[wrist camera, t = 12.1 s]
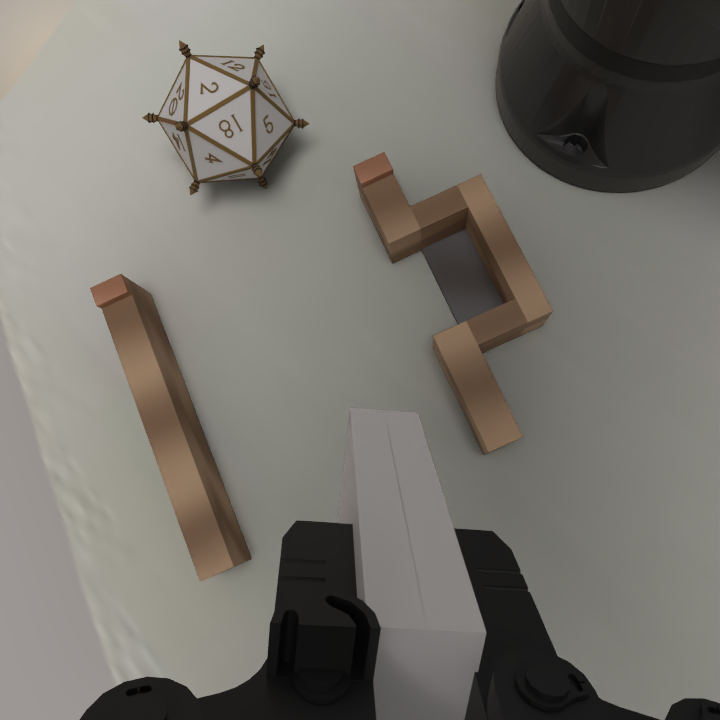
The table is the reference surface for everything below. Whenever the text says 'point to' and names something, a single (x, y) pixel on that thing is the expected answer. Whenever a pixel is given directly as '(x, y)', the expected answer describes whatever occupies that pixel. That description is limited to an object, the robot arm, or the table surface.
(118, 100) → the table surface
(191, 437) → the wooden blocks
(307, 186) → the table surface
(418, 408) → the table surface
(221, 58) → the game die
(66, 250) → the table surface
